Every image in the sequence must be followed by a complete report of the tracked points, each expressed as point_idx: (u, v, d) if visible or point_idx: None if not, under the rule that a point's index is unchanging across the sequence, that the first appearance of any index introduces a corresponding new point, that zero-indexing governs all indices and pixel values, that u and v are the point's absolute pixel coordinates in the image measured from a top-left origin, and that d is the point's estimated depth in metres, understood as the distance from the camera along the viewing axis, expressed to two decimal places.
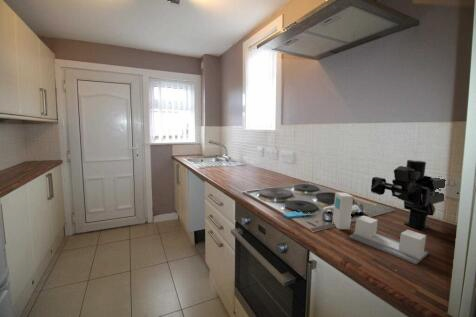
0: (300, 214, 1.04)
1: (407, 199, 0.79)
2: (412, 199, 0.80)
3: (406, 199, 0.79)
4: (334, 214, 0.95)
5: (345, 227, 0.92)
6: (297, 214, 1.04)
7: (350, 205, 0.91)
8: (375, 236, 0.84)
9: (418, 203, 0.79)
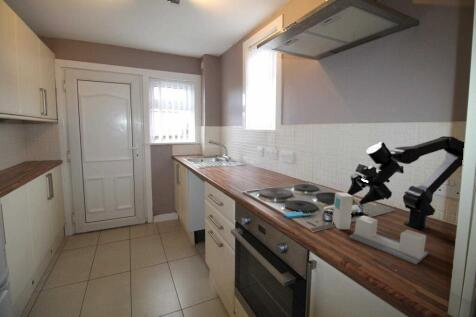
0: (300, 214, 1.04)
1: (370, 200, 0.88)
2: (376, 196, 0.87)
3: (369, 201, 0.88)
4: (334, 214, 0.95)
5: (345, 227, 0.92)
6: (297, 214, 1.04)
7: (350, 205, 0.91)
8: (375, 236, 0.84)
9: (382, 198, 0.86)
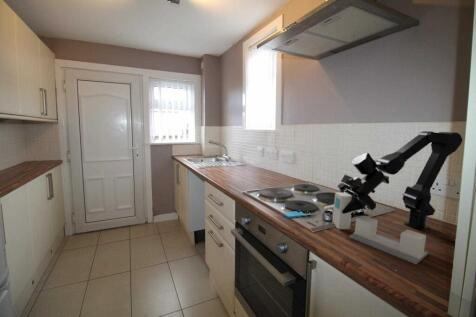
0: (300, 214, 1.04)
1: (352, 209, 0.90)
2: (358, 206, 0.89)
3: (351, 210, 0.90)
4: (334, 214, 0.95)
5: (345, 227, 0.92)
6: (297, 214, 1.04)
7: None
8: (375, 236, 0.84)
9: (363, 208, 0.88)
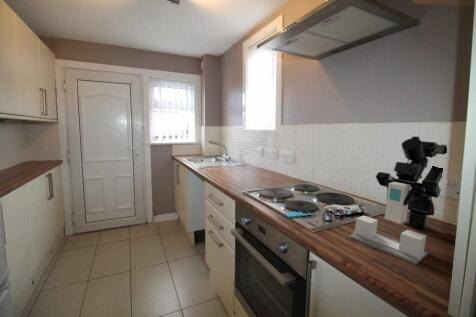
0: (301, 214, 1.04)
1: (413, 199, 0.82)
2: (417, 194, 0.82)
3: (412, 200, 0.82)
4: (388, 207, 0.85)
5: (403, 220, 0.83)
6: (298, 214, 1.04)
7: None
8: (375, 236, 0.84)
9: (424, 196, 0.81)
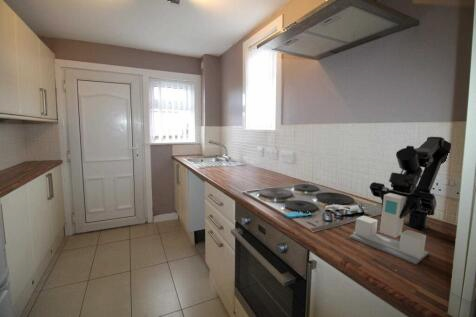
0: (301, 214, 1.04)
1: (408, 212, 0.78)
2: (412, 206, 0.78)
3: (408, 212, 0.78)
4: (383, 220, 0.80)
5: (399, 233, 0.79)
6: (298, 214, 1.04)
7: None
8: (375, 236, 0.84)
9: (419, 208, 0.78)
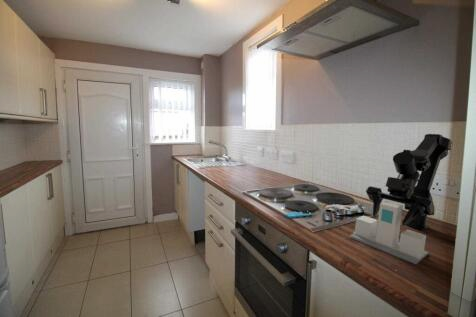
0: (301, 214, 1.04)
1: (411, 219, 0.75)
2: (415, 213, 0.76)
3: (410, 219, 0.75)
4: (379, 229, 0.79)
5: (395, 242, 0.78)
6: (298, 214, 1.04)
7: (400, 216, 0.78)
8: (375, 236, 0.84)
9: (423, 215, 0.75)
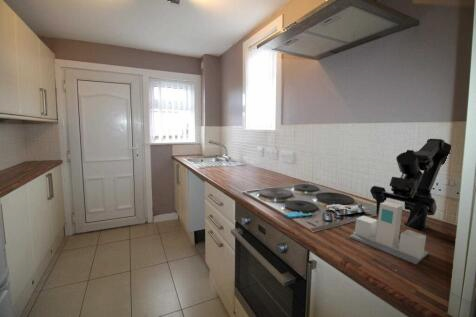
0: (301, 214, 1.04)
1: (416, 217, 0.77)
2: (420, 212, 0.78)
3: (415, 218, 0.77)
4: (379, 229, 0.79)
5: (395, 242, 0.78)
6: (298, 214, 1.04)
7: (400, 216, 0.78)
8: (375, 236, 0.84)
9: (427, 214, 0.77)
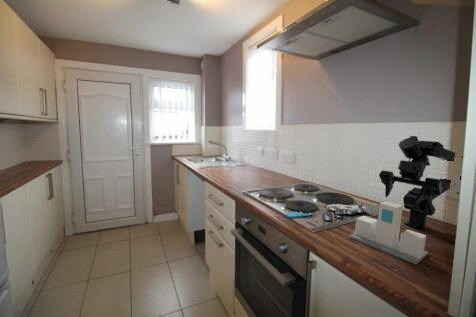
0: (302, 214, 1.04)
1: (423, 198, 0.83)
2: (426, 193, 0.83)
3: (422, 198, 0.83)
4: (379, 229, 0.79)
5: (395, 242, 0.78)
6: (299, 214, 1.04)
7: (400, 216, 0.78)
8: (375, 236, 0.84)
9: (433, 194, 0.83)
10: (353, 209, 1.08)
